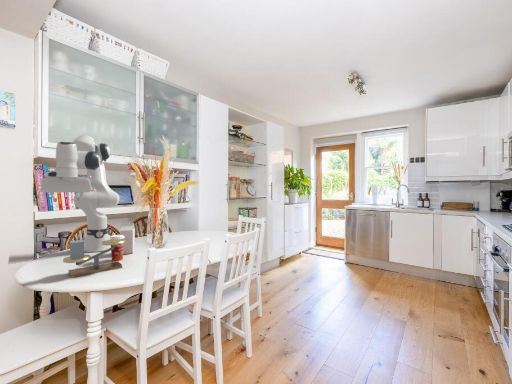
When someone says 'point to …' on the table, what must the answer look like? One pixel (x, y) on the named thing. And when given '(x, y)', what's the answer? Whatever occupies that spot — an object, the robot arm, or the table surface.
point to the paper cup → (117, 249)
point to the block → (76, 249)
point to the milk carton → (128, 237)
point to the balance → (95, 261)
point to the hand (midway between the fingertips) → (67, 201)
